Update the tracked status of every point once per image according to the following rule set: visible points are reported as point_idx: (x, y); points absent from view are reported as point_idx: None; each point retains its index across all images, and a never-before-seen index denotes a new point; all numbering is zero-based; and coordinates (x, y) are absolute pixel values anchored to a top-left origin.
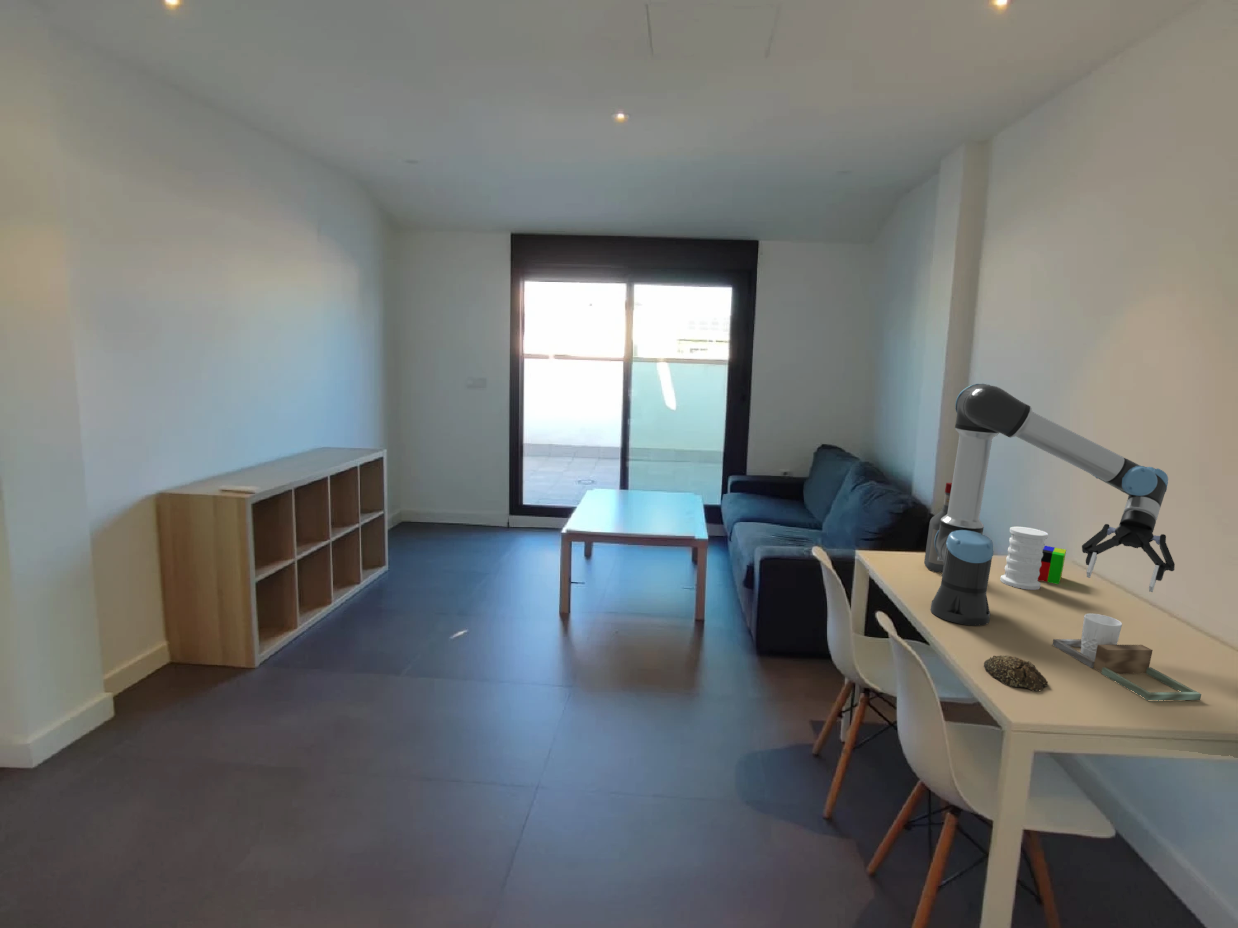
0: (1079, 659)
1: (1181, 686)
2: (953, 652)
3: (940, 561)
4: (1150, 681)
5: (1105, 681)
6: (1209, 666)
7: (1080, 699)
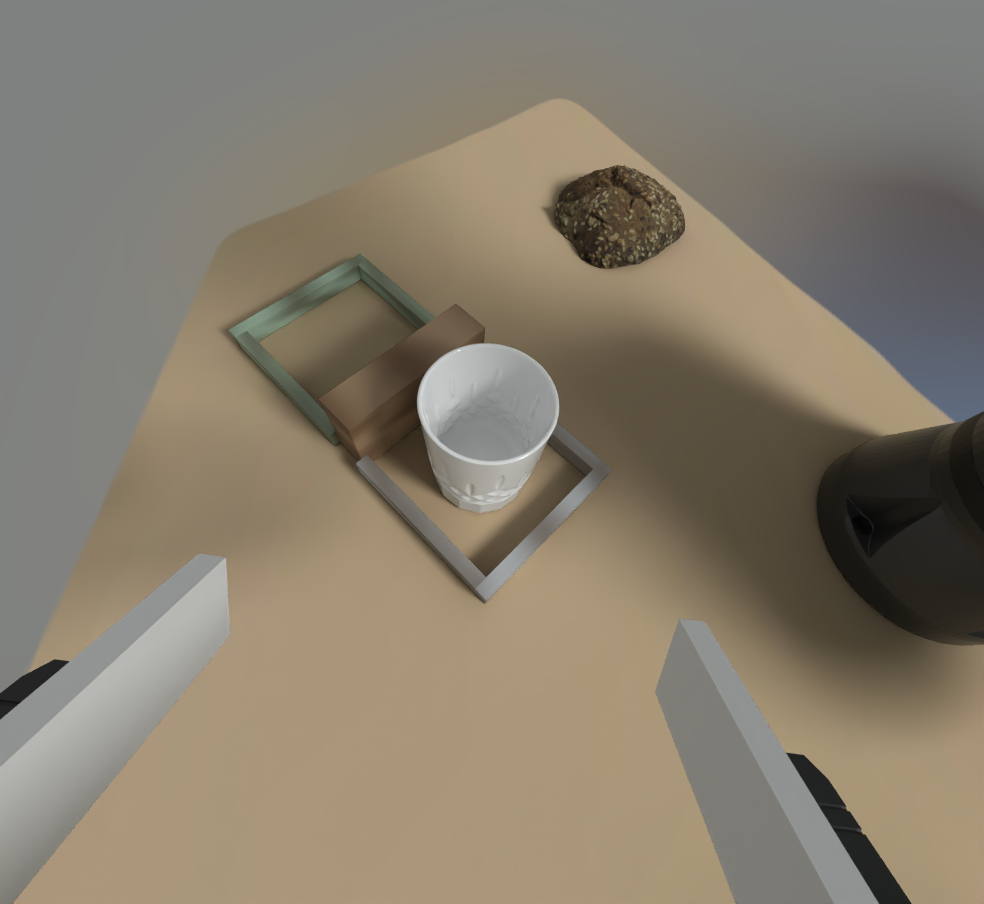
0: None
1: (268, 353)
2: (756, 258)
3: None
4: None
5: None
6: None
7: (490, 202)
